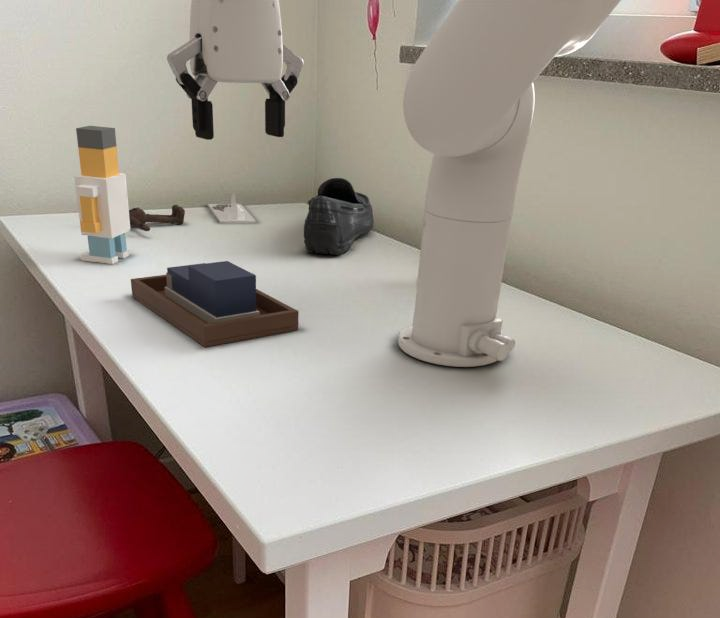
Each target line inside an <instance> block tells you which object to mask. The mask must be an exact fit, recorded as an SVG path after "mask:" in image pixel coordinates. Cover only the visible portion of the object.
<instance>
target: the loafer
mask: <svg viewBox="0 0 720 618" xmlns="http://www.w3.org/2000/svg"><path fill="white" fill-rule="evenodd" d="M307 204H308V212H307V215H306V217H305V220H304V223H303V243H304V247H305V249H306V251H307V252H308V253H312V254H314V253H317V254H320V255H333V256H340V255H343V254H344V253H346V252H347V251H349V250H350V249H351V247H352V245H353V243H354V241H355V240H356V239H357V238H362V237H364V236H366V235H368V234H369V233H370V232H371V230H372V229H373V228H374V223H375V222H374V219H375V218H374V212H373V211H374V210H373V206H372V205H371V201H370V198H369V196H367V195H366V194H363V193H361V192H357V191H356V190H355V188H354V186H353V184H352V183H351V182H350V181H349V180H348V179H346V178H342V177H333V178H328V179H327V180H325V181H323V182H322V183H321V184H320V185H319V187H318V188H317V195H315V196H312V197H311V198H310V199H308V201H307Z"/></svg>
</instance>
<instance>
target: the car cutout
mask: <svg viewBox="0 0 720 618" xmlns="http://www.w3.org/2000/svg"><path fill="white" fill-rule="evenodd" d="M236 199H237V198H236V194H235V193H232V194H231V198H230V203H207V208H208V209H209V210H210V212H211V213H212V214H213V216H214V218H216V221H218V223H219V224H223V225H224V224H229V225H230V224H231V225H232V224H257V220H256V219H255V218H254V217H253V215H252V214H251V213H250V212H249V211H248V210H247V209H246V208H245V207H244V205H243V204H241V203H237V200H236Z"/></svg>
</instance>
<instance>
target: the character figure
mask: <svg viewBox="0 0 720 618" xmlns="http://www.w3.org/2000/svg"><path fill="white" fill-rule="evenodd" d="M75 132H76V140H77V150H78V157H79V166H80V174H77V175H74V183H75V193H76V200H77V209H78V219H79V225H80V226H79V227H80V234H81V236H87V244H88V245H87V246H88V251H86V252H84V253H80V255H79V256H80V260H81V261H85V262H92V263H100V264H109V265H113V264H115V263H118V262H119V259H126V258H127V257H129V256H130V250H129V249H128V248H127V238H126V237H127V236H126V233H128V232H129V231H131V225H130V218H129V210H130V208H129V207H130V206H129V198H128V195H129V194H128V187H127V174H126V173H125V172H120V167H119V159H118V157H119V156H118V147H117V146H118V145H117V137H116V127H109V126H107V127H106V126H100V125H99V126H98V125H87V126H80V127H76V128H75Z"/></svg>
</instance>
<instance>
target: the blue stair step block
mask: <svg viewBox="0 0 720 618" xmlns="http://www.w3.org/2000/svg"><path fill="white" fill-rule="evenodd" d="M165 275H166V279H167V287H165V296H166V297H168V298H169V299H171V300H172V301H174V302H175V303H177V304H179V305H180V306H182V307H183V308H185V309H186V310H188V311H189V312H191V313H193V314H194V315H196V316H197V317H199V318H200V319H202V320H203V321H205V322H207V323H208V324H210V323H216V322H222V321H228V320H234V319H240V318H246V317H252V316H258V315H260V313H259V311H257V310H256V289H257V275H256V274H254V273H252V272H250V271H248V270H247V269H244V268H243V267H240V266H239V265H236V264H234V263H232V262H230V261H229V260H224V261H215V262H208V263H206V262H203V263H196V264H187V265H186V264H185V265H177V266H169V267H167V268H166V273H165Z"/></svg>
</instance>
